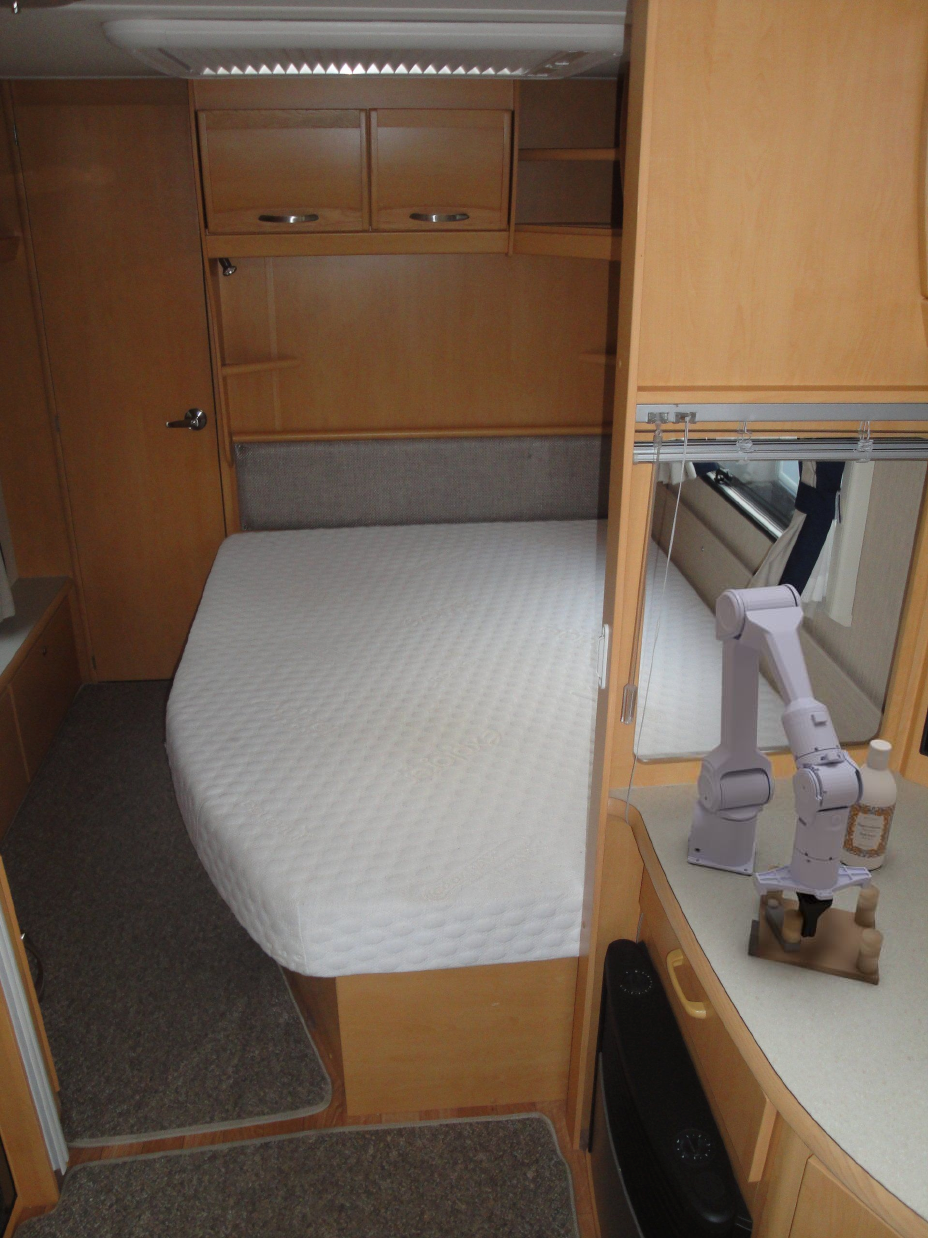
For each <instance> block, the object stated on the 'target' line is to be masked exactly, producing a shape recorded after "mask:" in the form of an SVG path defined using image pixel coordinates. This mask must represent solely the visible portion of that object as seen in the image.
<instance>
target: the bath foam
mask: <svg viewBox="0 0 928 1238" xmlns="http://www.w3.org/2000/svg"><path fill="white" fill-rule="evenodd" d="M892 747H893V746H892V744H891V743H889V742H888V741H886V740H884V739H874V740H873V739H872V740H871V741H870V742H869V746H868V751H867V756H866V761H865V763H864V764H862V765H861V766H860V767H859V769H860V771H861V776H862V779H863V784H864V793H863V797H862V799H861V801H860V802H859V803H858V804H853V805H851V806H849V807H850V808H849V814H848V820H847V826H846V832H845V838H844V844H843V850H842V855H841V861H840V862H842V863H844V864H845V866H850V867H865V868H866V869H867V870H868V871H872V870H875V869H877V868H880V867H881V866H882V865H883V863H884V860H885V855H886V851H887V846H888V841H889V838H890V833H891V827H892V823H893V817H894V813H895V808H896V805H897V801H898V799H897V798H898V790H897V789H898V788H897V783H896V780H895V778H894V776H893V774H892V773H891V771H890V769H889V764H890V763H889V762H890V758H891V755H892Z"/></svg>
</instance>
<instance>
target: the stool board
mask: <svg viewBox="0 0 928 1238" xmlns="http://www.w3.org/2000/svg"><path fill="white" fill-rule="evenodd" d="M779 867H780V866H779V865H771V866H769V867H768V868H767V871H770V870H773V869H776V868H779ZM783 894H784V890H777V891H767V894H765V895H760V904H759V915H758V920H757V919H754V918H753V919H752V920H751V927H750V932H749V938H748V939H749V940H748V948H747V949H748V950H747V955H748V956H750V957H756V958H760V959H765V960H769V961H773V962H777V963H782V964H786V965H790V966H794V967H798V968H802V969H808V970H812V971H816V972H819V973H820V972H821V973H826V974H830V975H834V976H837V977H844V978H847V979H852V980H855V981H861V982H865V983H868V984H873V985H876V986H879V982H880V973H879V970H880V969H879V961H880V960H879V958H880V955H881V950H882V947H883V942H884V935H883V933H882V932H881V931H880V930H877V928H876V911H877V907H878V902H879V897H880V894H881V893H880V889H879V888H878V887H877V886H875V885H873V884H871V886H870V889H862V888H861V887H860V888H859V894H858V897H857V902H856V909H855V912H854V911H850V910H845V909H840V908H835V907H832V906H831V907H829V908H828V909H827V910H825V911H824V912H823V913H822V914H821V915H820V917H819V918H818V921H817V928H816V933H815V936H814V937H808V936H807V937H803V938H802V936H801V947H800V951H787V952H785V951H784V949H783V947H782V945H781V943H780V942H779V940H778V938H777V936H776V935H775V933H774V931H773V929H772V927H771V926H770V924H769V922H768V920H767V919H766V917H765V915H764V914H765V908H766V906H768V900H769V899H775V900H777V901H778V902H779V904H778V905H780V906H781V907H782V909H783V911H784V912H785V911H786V910H788V909H796V910H798V908H799V901H798V899H793V898H788V897H783Z"/></svg>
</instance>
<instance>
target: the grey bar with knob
mask: <svg viewBox="0 0 928 1238" xmlns="http://www.w3.org/2000/svg"><path fill="white" fill-rule="evenodd" d="M778 904H779V902H778V901H777V900H775V899H769V900H768V906H766V908H765V914H764V915H765V917H766V919H767V920H768V922H769V924H770V926H771V927H772V929H773V931H774V933H775V935H776V936H777V938H778V940H779V942H780V943H781V945H782V947H783V949H784V951H785V952H787V951H800V947H801V933H802V927H803V922H804V916H803V914H802V913H801V912H800V911H798V910H796V909H788V910H786V911H785V912H784V911H783V909H782V907H781V906H780V905H778Z"/></svg>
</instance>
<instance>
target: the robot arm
mask: <svg viewBox="0 0 928 1238" xmlns="http://www.w3.org/2000/svg"><path fill="white" fill-rule="evenodd" d="M804 617H805V614H804V611H803V602H802V598H801V596H800V594H799V592H798V591H797V589H796V588H795V587H794V586H793V585H792V584H789V583H785V584H784V583H783V584H781V585H773V586H771V585H770V586H764V587H763V586H762V587H761V586H760V587H752V588H750V587H748V588H741V589H734V588H731V589H729V588H728V589H725V590H724V591H723V592H722V593H721V594H720V595H719V596H718V598H717V599H716V601H715V640H717V641H720V642H722V654H721V655H722V657H721V659H722V660H721V703H720V704H721V705H720V706H721V707H720V742H719V744H718V745H717V746H716V747H715V748H713V749H712V750H711V751H710V752H708V753H707V754H705V755H704V756H703V757H702V759H701V767H700V771H699V772H700V773H699V775H698V778H697V792H698V796H699V797H695V802H694V807H693V812H692V819H691V827H690V829H689V833H688V839H687V840H688V842H689V844H688V845H689V846H688V855H687V862H688V863H690V864H695V865H698V866H699V865H700V866H704V867H709V868H714V869H718V870H724V871H729V872H733V873H738V874H739V873H740V874H743V875H747V876H750V875H751V876H752V875H753V872H754V862H755V855H756V854H755V853H756V846H757V845H756V844H757V843H756V842H755V837H756V835H755V834H756V828H757V820H758V816H759V815H758V814H759V813H761V812H763V811H764V806H766V805H769V804H770V803H771V802H772V800H773V798H774V795H775V791H776V790H775V786H776V785H775V780H774V776H773V769H772V761H771V759H770V758H769V757H768V755H766V754H765V752H763V751H761V750H760V749H758V746H757V745H758V744H757V743H758V715H759V714H758V713H759V688H760V686H759V684H760V683H759V680H760V679H759V678H760V653H763V656H764V658H765V661H766V663H767V665H768V667H769V669H770V672H771V674H772V676H773V679H774V681H775V684H776V686H777V688H778V691H779V693H780V696H781V698H782V700H783V702H784V705H785V708H784V711H783V713H782V714H781V718H780V721H781V724H782V728H783V731H784V733H785V736H786V741H787V742H788V746H789V748H790V751H791V755H792V758H793V760H794V764H795V768H796V771H795V773H794V774H792V787H793V792H794V798H795V799H794V808H795V809H794V810H795V811H794V812H795V813H796V815H797V819H796V825H795V826H796V827H795V833H794V839H793V845H792V854H791V861H790V863H789V864H785V865H782V866H779V868H776V869H773V870H770V871H768V870H767V871H764V872H756V873H754V880H753V886H754V889H755V891H756V892H757V894H758V895H759V896H761V895H765V894H767V891H777V890H783V891H787V892H788V891H790V892H794V893H795V896H796V897H797V900H798V901H799V908H798V911H800V912H801V913H802V914H803V916H804V922H803V927H802V933H801V936H802V938H803V937H807V936H808V937H814V936H815V933H816V928H817V921H818V918H819V917H820V915H821V914H822V913H823V912H824V911H825V910H827V909H828V908H829V907H831V908H832V905H833V901H834V893H836V892H840V891H841V890H845V889H847V888H850V887H860V888H862V889H870V886H871V885H872V880H873V876H872V875H871V873H870V872H869V870H867V869H866V868H865V867H850V866H848V865H843V864H841V862H842V861H841V855H842V850H843V844H844V838H845V832H846V826H847V820H848V814H849V808H850V807H849V806H851V805H853V804H858V803H859V802H860V801H861V799H862V797H863V793H864V784H863V779H862V776H861V771H860V769H859V768H860V767H859V766H858V764H857V763H856V762H855V761H854V759H852V758H851V757H850V754H849V752H848V751H847V750H846V749H842V748H841V745H840V741H839V738H838V736H837V732H836V730H835V728H834V725H833V724H834V723H833V722H832V718H831V716H830V713H829V710H828V707H827V706H826V705H825V704H823V703H821V702H820V701H818V700H816V699H815V697H814V694H813V688H812V685H811V684H812V683H811V680H810V677H809V673H808V668H807V665H806V661H805V657H804V652H803V649H802V644H801V641H800V637H799V634H800V632H801V630H802V627H803V623H804V620H805V619H804Z"/></svg>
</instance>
